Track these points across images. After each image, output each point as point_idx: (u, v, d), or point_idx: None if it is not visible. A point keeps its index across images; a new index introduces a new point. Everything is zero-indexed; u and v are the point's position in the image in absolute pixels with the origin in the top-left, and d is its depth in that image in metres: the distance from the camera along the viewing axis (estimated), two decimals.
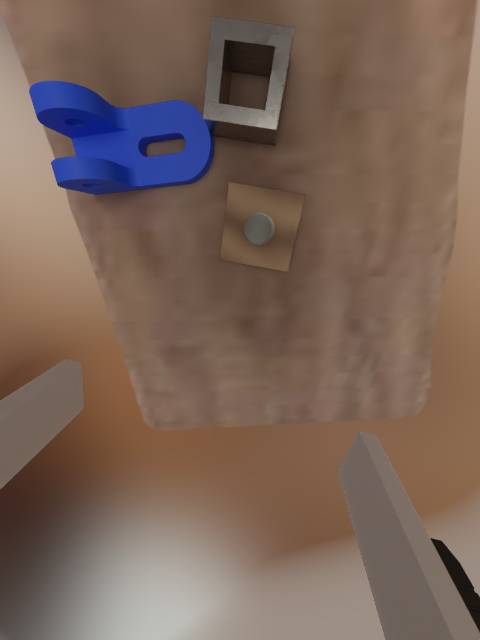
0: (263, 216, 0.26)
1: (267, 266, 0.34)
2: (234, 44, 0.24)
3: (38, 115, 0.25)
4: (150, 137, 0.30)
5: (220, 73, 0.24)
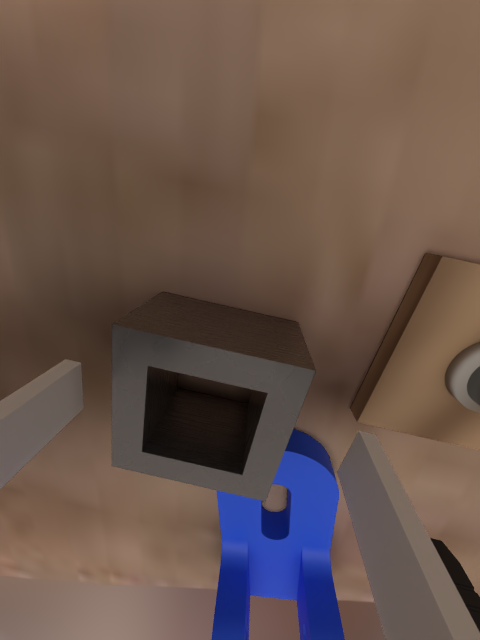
0: None
1: None
2: (147, 429, 0.12)
3: None
4: (261, 522, 0.18)
5: (193, 465, 0.12)
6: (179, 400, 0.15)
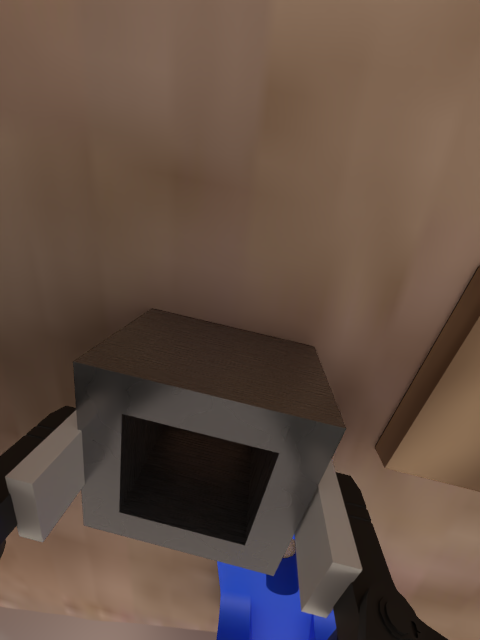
0: None
1: None
2: (127, 483, 0.09)
3: None
4: (266, 574, 0.15)
5: (184, 531, 0.09)
6: (171, 435, 0.13)
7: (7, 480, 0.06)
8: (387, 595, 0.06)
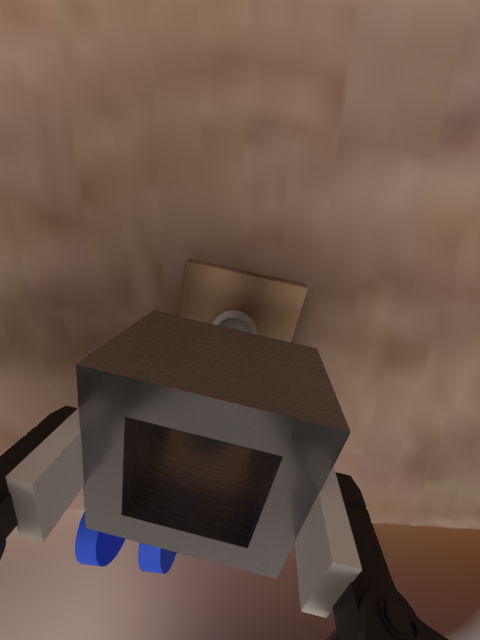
0: None
1: (294, 322, 0.20)
2: (129, 486, 0.09)
3: (107, 563, 0.24)
4: None
5: (186, 534, 0.09)
6: (173, 437, 0.13)
7: (8, 480, 0.06)
8: (387, 595, 0.06)
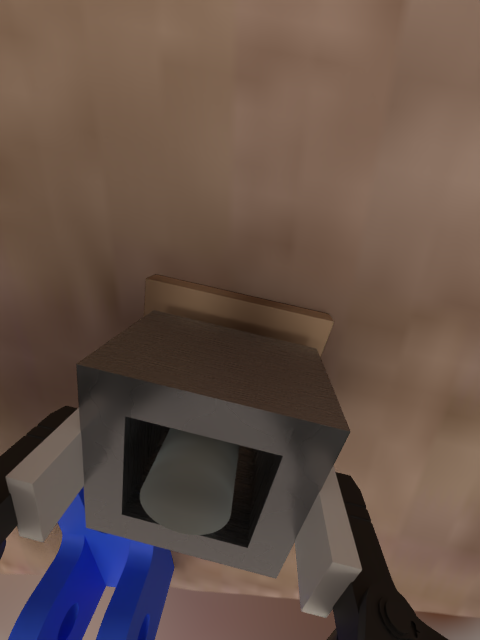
0: (145, 488, 0.08)
1: None
2: (129, 485, 0.09)
3: None
4: None
5: None
6: None
7: (7, 480, 0.06)
8: (387, 595, 0.06)
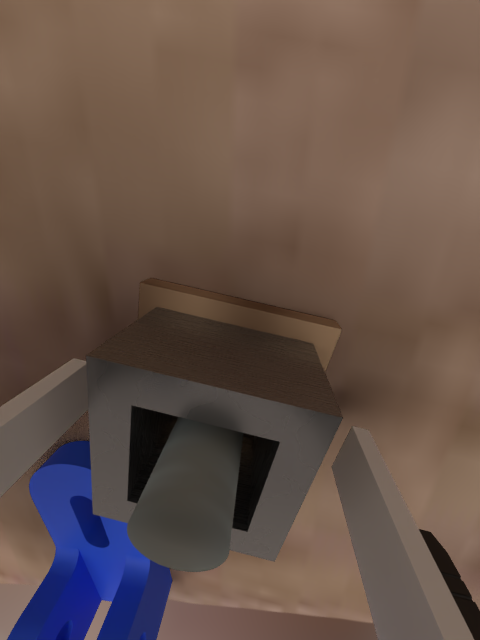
0: (133, 522, 0.07)
1: None
2: (134, 473, 0.10)
3: None
4: (84, 530, 0.19)
5: None
6: None
7: None
8: None
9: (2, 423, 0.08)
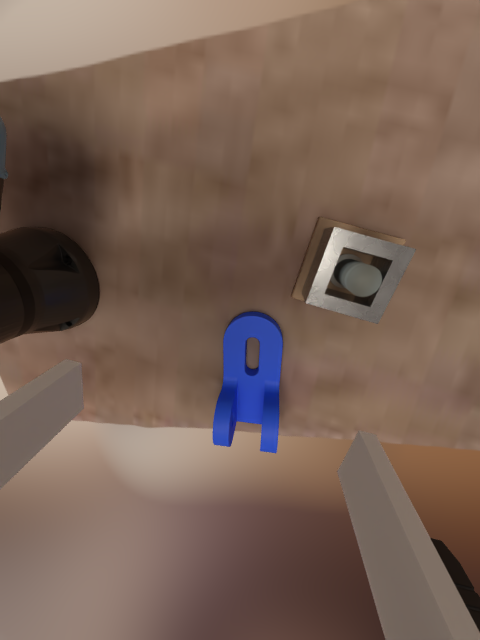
0: (352, 273, 0.22)
1: None
2: None
3: (229, 445, 0.32)
4: (244, 364, 0.35)
5: (347, 302, 0.25)
6: None
7: None
8: None
9: None
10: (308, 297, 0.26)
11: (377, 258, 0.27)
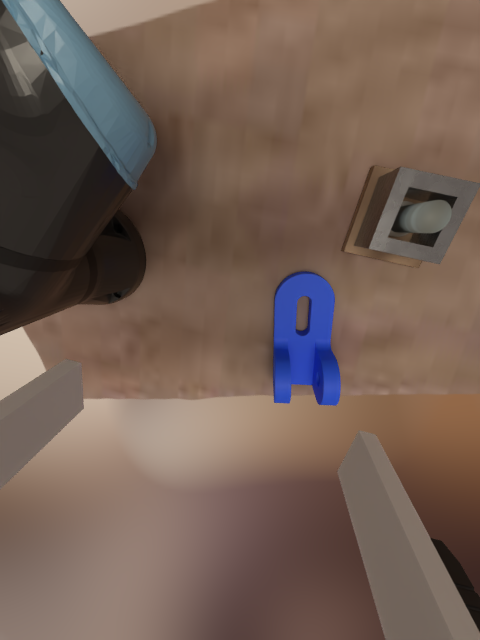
0: (422, 210, 0.23)
1: None
2: None
3: (289, 402, 0.33)
4: (295, 324, 0.36)
5: (410, 244, 0.26)
6: None
7: None
8: None
9: None
10: (371, 242, 0.26)
11: None
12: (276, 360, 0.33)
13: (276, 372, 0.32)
